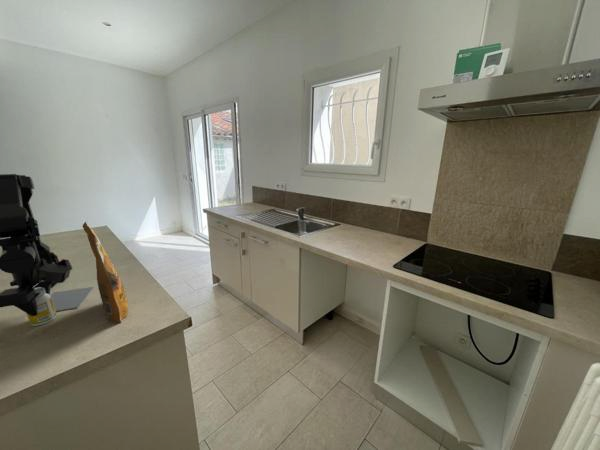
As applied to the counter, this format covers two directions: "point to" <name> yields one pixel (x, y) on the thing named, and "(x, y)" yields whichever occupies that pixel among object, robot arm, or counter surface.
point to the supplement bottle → (42, 308)
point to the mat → (69, 298)
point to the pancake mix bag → (108, 281)
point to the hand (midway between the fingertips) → (40, 309)
